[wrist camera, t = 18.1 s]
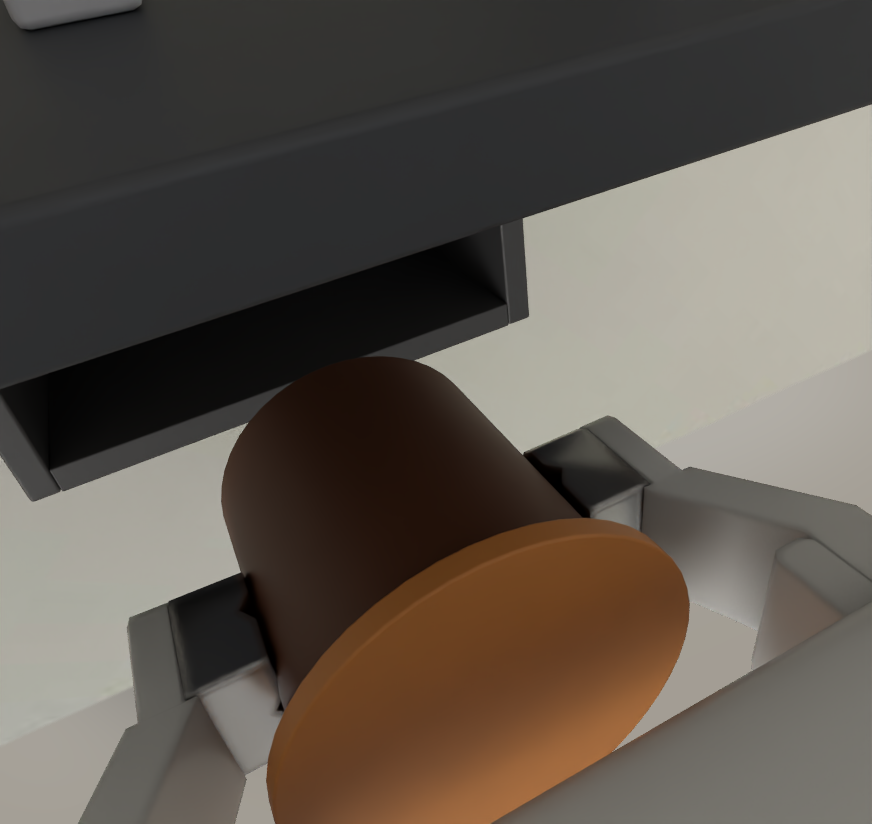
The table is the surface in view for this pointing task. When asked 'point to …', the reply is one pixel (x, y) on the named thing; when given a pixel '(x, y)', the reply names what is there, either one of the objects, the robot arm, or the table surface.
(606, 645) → the disc
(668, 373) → the table surface
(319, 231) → the lid
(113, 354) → the dark grey storage bin
